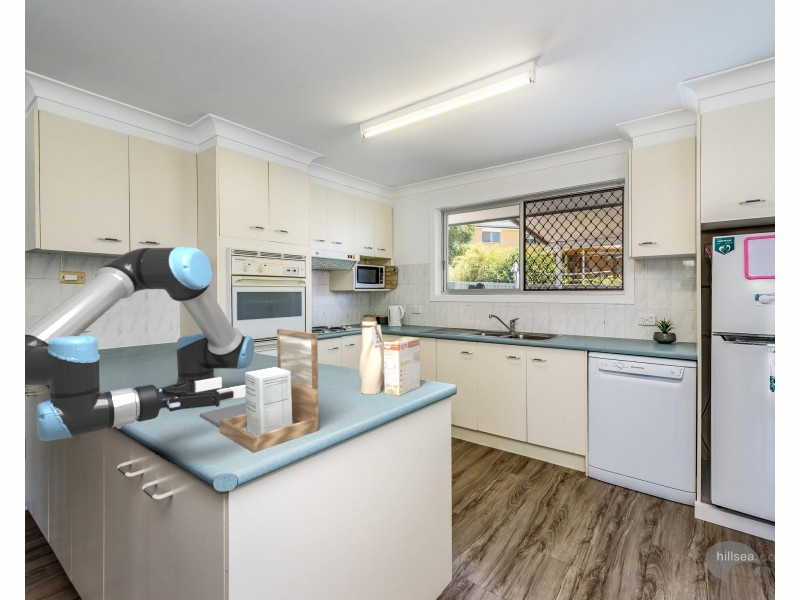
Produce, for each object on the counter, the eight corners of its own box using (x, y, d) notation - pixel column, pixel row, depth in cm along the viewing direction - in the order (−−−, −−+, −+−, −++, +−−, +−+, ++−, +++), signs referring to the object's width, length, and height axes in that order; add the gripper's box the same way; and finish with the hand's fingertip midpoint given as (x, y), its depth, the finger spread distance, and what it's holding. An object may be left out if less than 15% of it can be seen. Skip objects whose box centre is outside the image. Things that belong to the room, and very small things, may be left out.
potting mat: (221, 429, 110) (221, 425, 110) (199, 416, 121) (199, 413, 121) (273, 414, 122) (273, 411, 121) (249, 404, 132) (249, 401, 132)
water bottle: (390, 390, 147) (389, 317, 146) (376, 396, 140) (375, 319, 139) (368, 387, 153) (367, 316, 152) (354, 392, 145) (352, 318, 144)
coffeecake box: (405, 384, 156) (405, 336, 156) (421, 387, 152) (420, 337, 152) (383, 393, 144) (382, 341, 143) (399, 396, 140) (398, 342, 139)
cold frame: (253, 452, 94) (250, 341, 93) (220, 432, 107) (217, 335, 106) (319, 430, 108) (317, 333, 107) (282, 415, 121) (280, 329, 120)
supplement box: (277, 423, 114) (276, 366, 113) (293, 431, 108) (292, 371, 107) (245, 432, 107) (244, 371, 107) (260, 441, 101) (258, 377, 100)
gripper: (120, 410, 92) (212, 392, 108) (152, 436, 75) (256, 410, 91) (119, 379, 92) (212, 365, 108) (151, 398, 75) (255, 378, 91)
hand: (232, 386), depth 99 cm, fingers open, 13 cm apart
